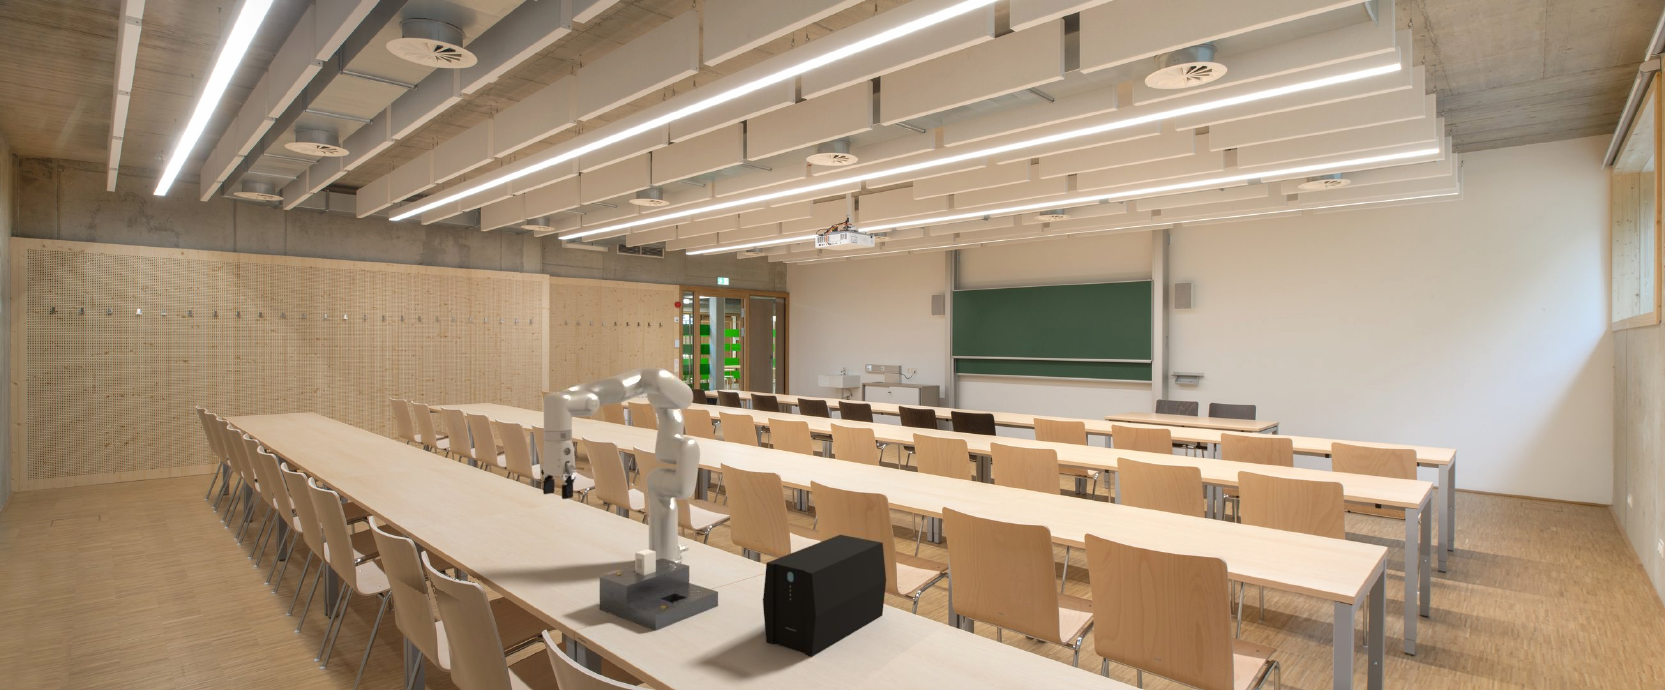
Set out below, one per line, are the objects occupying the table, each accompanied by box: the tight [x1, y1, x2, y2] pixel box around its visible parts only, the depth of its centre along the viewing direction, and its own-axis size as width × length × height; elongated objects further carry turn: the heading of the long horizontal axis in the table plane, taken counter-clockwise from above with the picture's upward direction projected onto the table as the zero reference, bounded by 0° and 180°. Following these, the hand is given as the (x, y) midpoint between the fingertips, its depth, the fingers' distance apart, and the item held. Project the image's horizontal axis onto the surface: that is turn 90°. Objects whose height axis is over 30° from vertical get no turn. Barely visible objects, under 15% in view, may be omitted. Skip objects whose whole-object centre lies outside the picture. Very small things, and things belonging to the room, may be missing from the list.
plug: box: [634, 548, 656, 575], centre depth 208 cm, size 4×4×8 cm
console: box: [599, 558, 719, 631], centre depth 204 cm, size 22×24×9 cm
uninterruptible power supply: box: [762, 534, 887, 658], centre depth 191 cm, size 16×34×20 cm, turn 145°
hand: (558, 495), depth 210 cm, fingers open, 9 cm apart
